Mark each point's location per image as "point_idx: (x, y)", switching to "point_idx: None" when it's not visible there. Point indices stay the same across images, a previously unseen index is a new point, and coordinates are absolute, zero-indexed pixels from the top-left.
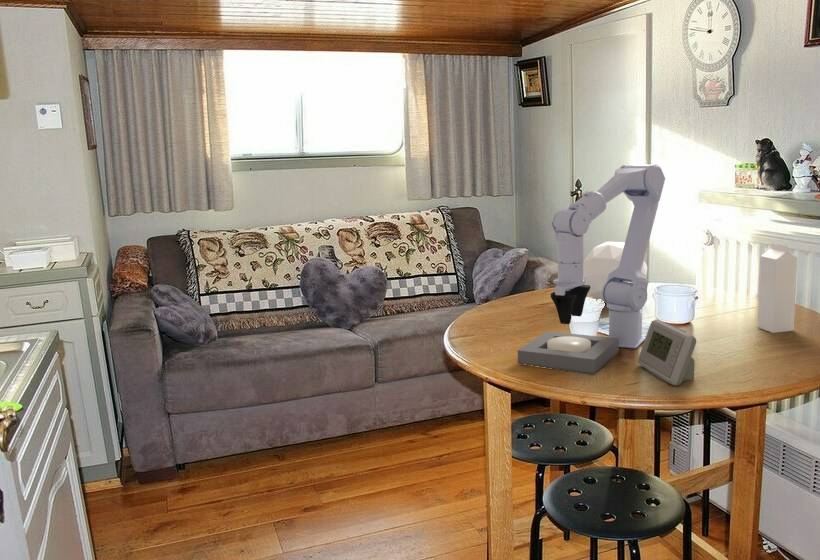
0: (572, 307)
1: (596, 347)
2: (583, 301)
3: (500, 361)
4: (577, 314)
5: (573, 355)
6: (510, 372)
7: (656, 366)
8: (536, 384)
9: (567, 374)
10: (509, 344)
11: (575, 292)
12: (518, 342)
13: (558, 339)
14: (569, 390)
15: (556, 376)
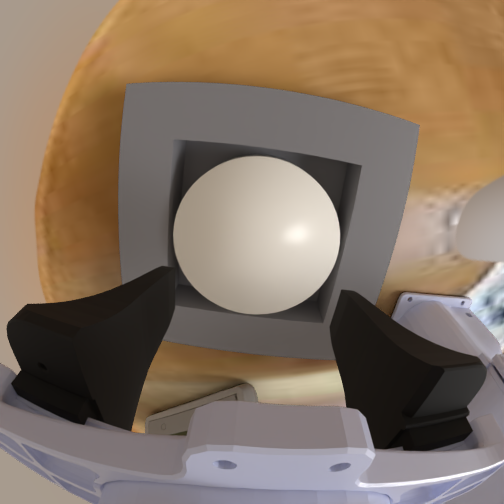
0: (142, 379)
1: (241, 327)
2: (346, 395)
3: (169, 31)
4: (334, 320)
5: (135, 278)
6: (84, 103)
7: (182, 417)
8: (40, 200)
9: (119, 250)
10: (364, 12)
11: (379, 405)
12: (394, 36)
13: (286, 195)
14: (44, 273)
15: (95, 227)
